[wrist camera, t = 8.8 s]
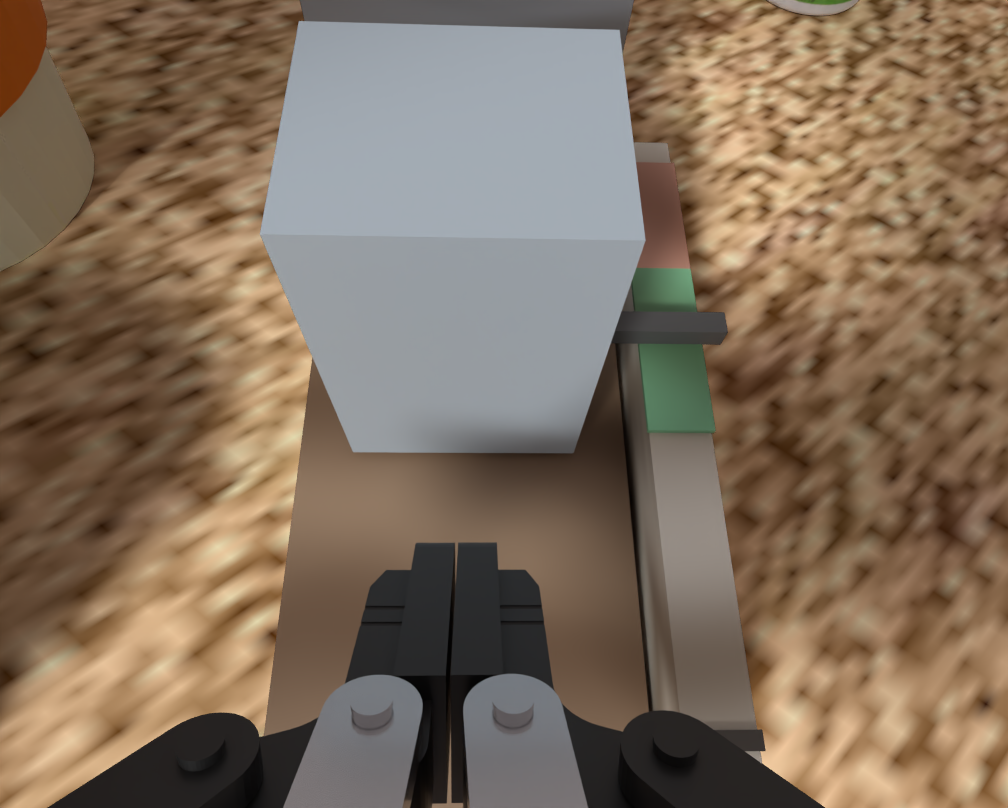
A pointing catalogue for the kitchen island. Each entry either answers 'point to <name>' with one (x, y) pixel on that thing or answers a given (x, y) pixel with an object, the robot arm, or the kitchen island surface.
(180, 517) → the kitchen island surface
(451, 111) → the block
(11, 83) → the reusable coffee cup
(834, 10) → the supplement bottle
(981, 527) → the kitchen island surface
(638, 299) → the track
